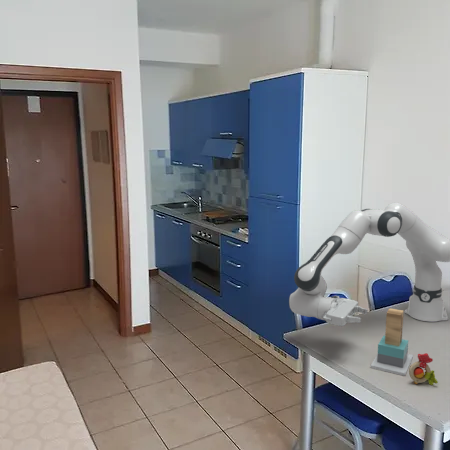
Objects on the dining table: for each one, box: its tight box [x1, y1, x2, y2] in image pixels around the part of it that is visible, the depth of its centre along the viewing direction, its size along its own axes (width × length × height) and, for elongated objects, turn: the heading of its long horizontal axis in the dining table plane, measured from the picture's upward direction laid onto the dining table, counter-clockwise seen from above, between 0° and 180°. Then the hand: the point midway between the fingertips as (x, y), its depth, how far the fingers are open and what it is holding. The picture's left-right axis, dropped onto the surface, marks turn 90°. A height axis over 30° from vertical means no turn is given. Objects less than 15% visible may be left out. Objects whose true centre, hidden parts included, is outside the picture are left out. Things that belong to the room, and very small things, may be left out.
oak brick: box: [384, 308, 405, 346], centre depth 171 cm, size 5×5×12 cm
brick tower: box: [370, 335, 414, 377], centre depth 173 cm, size 16×12×8 cm
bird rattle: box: [408, 353, 439, 386], centre depth 158 cm, size 6×11×9 cm
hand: (363, 315), depth 176 cm, fingers open, 8 cm apart
